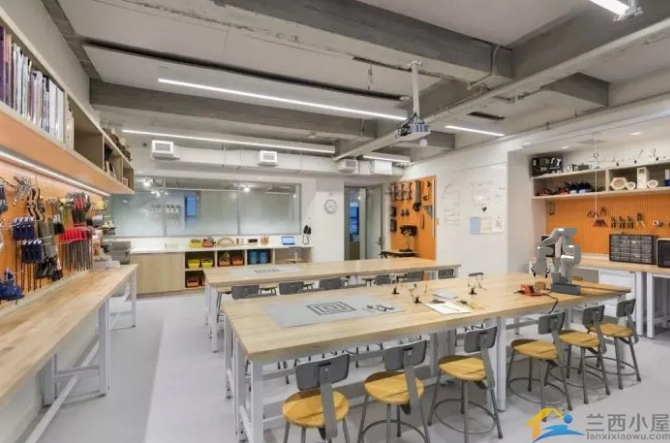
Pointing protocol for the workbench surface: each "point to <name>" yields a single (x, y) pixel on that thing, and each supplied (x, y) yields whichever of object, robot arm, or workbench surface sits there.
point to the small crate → (540, 285)
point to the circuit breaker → (557, 278)
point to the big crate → (566, 288)
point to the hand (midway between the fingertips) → (540, 277)
